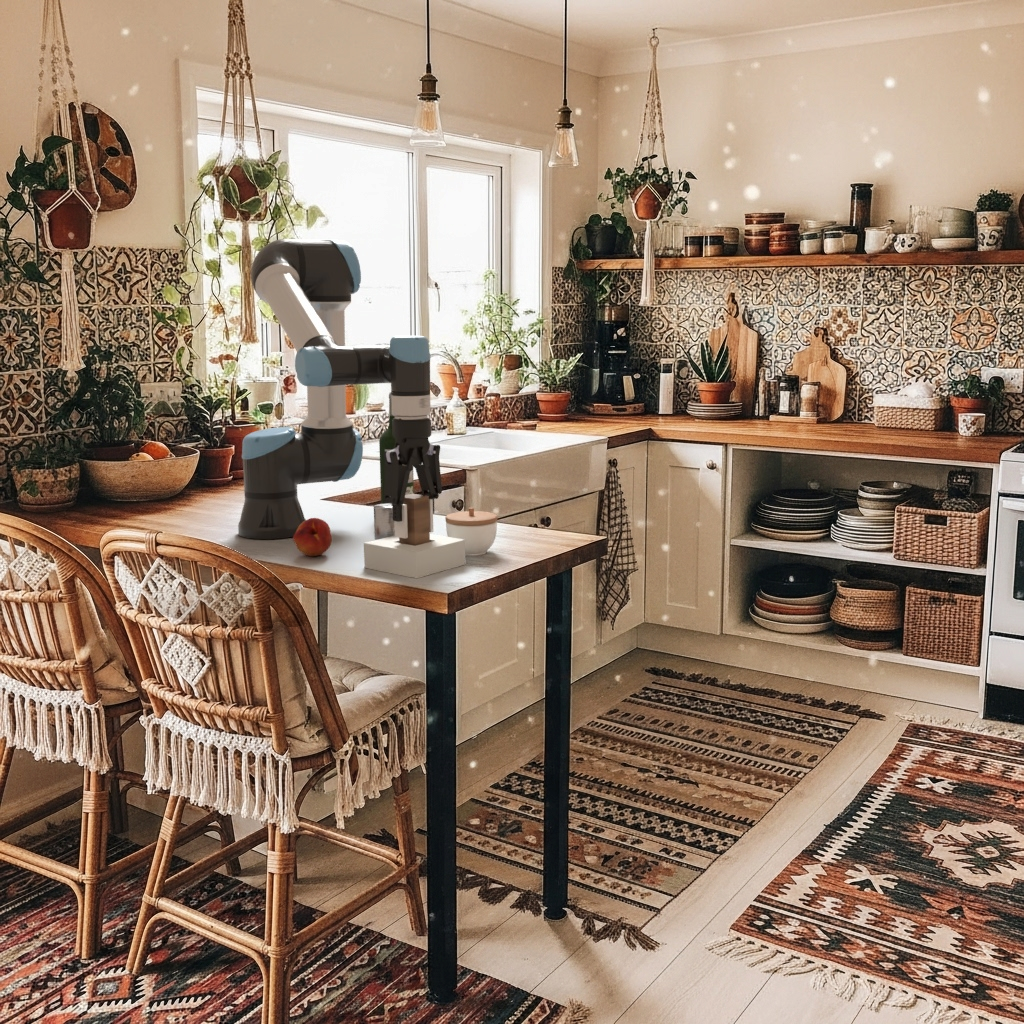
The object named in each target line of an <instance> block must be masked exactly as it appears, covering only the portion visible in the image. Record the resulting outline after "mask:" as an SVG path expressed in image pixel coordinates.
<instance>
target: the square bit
mask: <svg viewBox="0 0 1024 1024" xmlns="http://www.w3.org/2000/svg"><path fill="white" fill-rule="evenodd" d="M403 504H405V505H407V527H408V538H400V537H399V543H402V544H408V545H413V546H416V545H420V544H424V543H428V542H430V534H431V532H430V529H429V496H426V495H423V494H417V493H414V494H409V495H405V499H404V503H403Z"/></svg>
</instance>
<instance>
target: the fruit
mask: <svg viewBox="0 0 1024 1024" xmlns="http://www.w3.org/2000/svg"><path fill="white" fill-rule="evenodd" d="M292 539H293V542H294V543H295V546H296V548H297V550H298V551H299V552H300V553H302V555H306V556H309V557H316V556H322V555H323V554H325V553H326V552H327V551H328V550H329V548H330V547H331V545H332V540H333V537H332V533H331V528H330V525H329V523H327V522H326V521H325V520H324V519H322V518H318V517H311V518H308V519H306V521H304V522H303V523H301V524H300V525H299V527H298V529H297V531H296V533H295V535H294V536H293V537H292Z"/></svg>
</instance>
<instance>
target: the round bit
mask: <svg viewBox="0 0 1024 1024" xmlns="http://www.w3.org/2000/svg"><path fill="white" fill-rule="evenodd" d="M373 525H374V526H373V527H374V532H373V533H374V540H378V539H382V538H386V537H391V536H395V521H393V510H392V504H389V503H388V504H381V503H379V504H375V505H373Z"/></svg>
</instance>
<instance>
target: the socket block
mask: <svg viewBox="0 0 1024 1024" xmlns="http://www.w3.org/2000/svg"><path fill="white" fill-rule="evenodd" d="M363 557H364V561H363V562H364V568H365V569H369V570H375V571H379V572H384V573H388V574H394V575H399V576H403V577H408V578H413V579H418V578H422V577H426V576H429V575H433V574H436V573H440V572H443V571H447V570H451V569H454V568H457V567H461V566H464V565H466V555H465V540H463V539H457V538H452V537H448V536H447V535H445V536H444V535H439V534H433V533H430V542H428V543H424V544H420V545H416V546H413V545H408V544H402V543H399V537H395V536H391V537H386V538H382V539H378V540H375V539H374V540H371V541H366V542H363Z"/></svg>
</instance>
